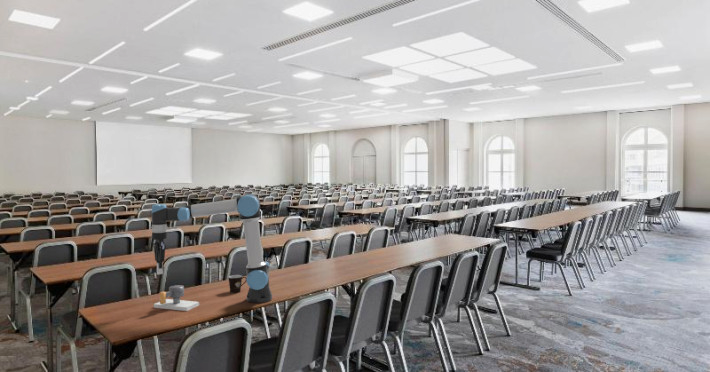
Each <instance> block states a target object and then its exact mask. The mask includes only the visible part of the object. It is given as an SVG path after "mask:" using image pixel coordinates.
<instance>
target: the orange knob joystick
mask: <svg viewBox="0 0 710 372" xmlns="http://www.w3.org/2000/svg"><path fill="white" fill-rule="evenodd" d="M184 296H185V286H184V285H181V284H179V285H178V284H177V285H176V284H175V285H171V286H169V287H168V291H160V292H159V302H160V304H165V303H166V299H167V298H168V297H169V298H172V299H173V298H176V297H180V298H181V297H184Z"/></svg>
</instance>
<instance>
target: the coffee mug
mask: <svg viewBox="0 0 710 372" xmlns="http://www.w3.org/2000/svg"><path fill="white" fill-rule="evenodd" d="M243 279H245V281H244V282H243V283H242V281H243ZM246 279H247V276H243V275H241V274H233V275H229V276H228V284H229V285H228V286H229V292H230V294H239V293H241V290H242V287H243V285H245V284H246V283H247V280H246Z"/></svg>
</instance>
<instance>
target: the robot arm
mask: <svg viewBox="0 0 710 372" xmlns="http://www.w3.org/2000/svg"><path fill="white" fill-rule="evenodd" d="M260 208H261V201H260V199H259V197H258V196H256V195H255V194H252V193H249V194H244V195H242V196H237V197H235V198H233V199H227V200H219V201H211V202H210V201H209V202H202V203H196V204H188V205H186V204H185V205H181V206H177V207H168V206H167V205H166V204H163V203H159V204H158V203H155V204H152V206H151V212H150V214H151V226H150V228H151V232H152V233H151V239H152V240H154V242H153V245H152V246H153V250H154V260H155V262H156V274H157V275H163V274H164V273H163V271H164V266H163V265H164V264H163V263H164V262H165V255H166V248H167V246H166V245H165V241H164V240H166V239H167V238H168V237H167V236H168V235H167V231H168V230H167V229H168V226H167V222H187V221H189V219H191V218H199V217H207V216H212V215H213V216H214V215H221V214H229V213H235V212H236V213H238V215H239V220H240V221H241V222H242V223H243V225H242V226H243V231H244V242H245V246H246V247H245V248H246V255H247V265H246V266H245V269H246V278H247V279H246V278H245V281H246V280H247V281H246V284H247V286H248V288H249V289H248V291H247V295H246V302H249V303H254V304H256V303H257V304H258V303H259V304H260V303H267V302H270V301H272V300H273V294H272V291H271V288H270V263H269V261H264V253H263V247H262V241H261V239H262V238H261V231H260V223H259V222H260V219H261V209H260Z"/></svg>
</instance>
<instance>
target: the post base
mask: <svg viewBox="0 0 710 372" xmlns="http://www.w3.org/2000/svg"><path fill="white" fill-rule="evenodd" d="M198 306H200V301H195V300H194V301H193V300H183V299H181V297H176V298H172V299H171V298H166V303H165V304H160V301H158V302H156V303H153V308H155V309H161V310H162V309H163V310H164V309H165V310H174V311H184V312H188V311H190V310H193V309H194V308H196V307H198Z"/></svg>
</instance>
